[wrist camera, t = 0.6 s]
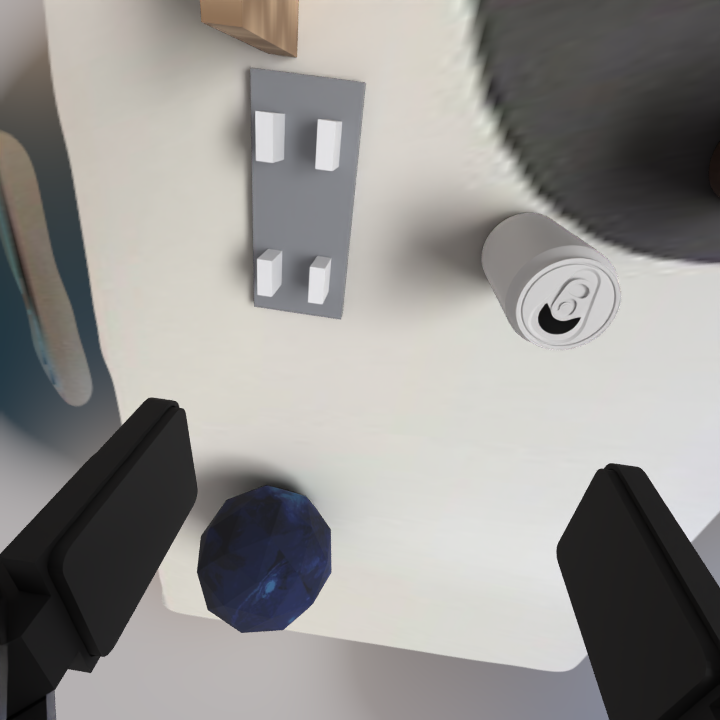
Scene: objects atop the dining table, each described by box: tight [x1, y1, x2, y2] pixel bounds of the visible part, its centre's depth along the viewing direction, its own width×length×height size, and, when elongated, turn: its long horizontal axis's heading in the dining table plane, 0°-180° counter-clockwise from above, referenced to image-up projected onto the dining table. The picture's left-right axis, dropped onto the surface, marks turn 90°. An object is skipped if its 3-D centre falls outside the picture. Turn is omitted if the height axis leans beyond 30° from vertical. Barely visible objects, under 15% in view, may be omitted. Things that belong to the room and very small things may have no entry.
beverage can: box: [481, 213, 621, 350], centre depth 29 cm, size 6×6×12 cm
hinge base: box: [250, 68, 366, 319], centre depth 32 cm, size 18×8×4 cm, turn 173°
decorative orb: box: [197, 485, 331, 633], centre depth 46 cm, size 14×15×15 cm
